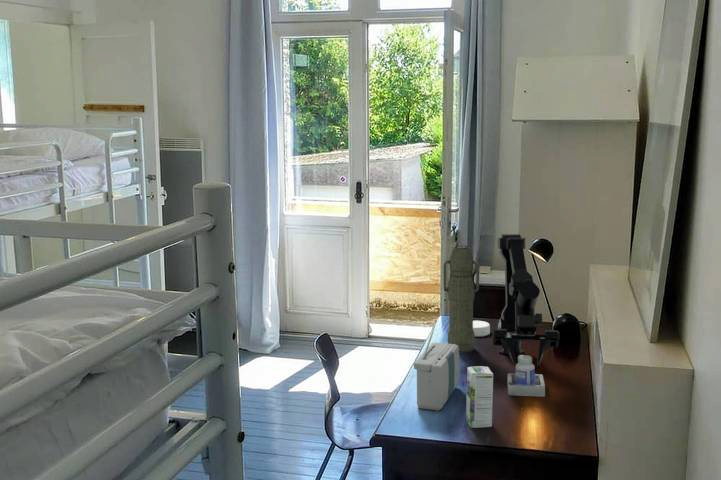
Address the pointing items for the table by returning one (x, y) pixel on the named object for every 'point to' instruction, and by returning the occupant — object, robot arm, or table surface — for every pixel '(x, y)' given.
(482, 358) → the table surface
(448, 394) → the stereo radio cassette player
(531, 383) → the pill bottle
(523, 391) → the housing
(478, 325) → the white round tub
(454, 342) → the thermos
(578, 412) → the table surface
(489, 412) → the syrup box
